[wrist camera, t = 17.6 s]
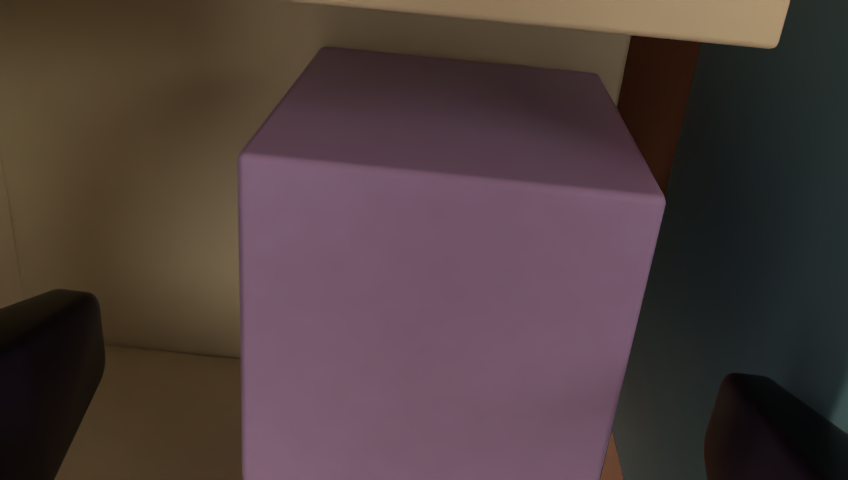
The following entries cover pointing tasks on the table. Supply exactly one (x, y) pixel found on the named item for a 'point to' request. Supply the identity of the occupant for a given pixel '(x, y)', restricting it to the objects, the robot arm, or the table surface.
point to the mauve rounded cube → (438, 271)
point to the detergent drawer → (432, 37)
